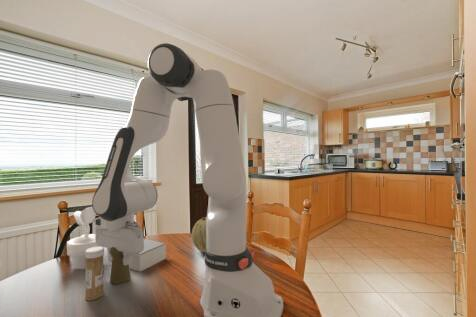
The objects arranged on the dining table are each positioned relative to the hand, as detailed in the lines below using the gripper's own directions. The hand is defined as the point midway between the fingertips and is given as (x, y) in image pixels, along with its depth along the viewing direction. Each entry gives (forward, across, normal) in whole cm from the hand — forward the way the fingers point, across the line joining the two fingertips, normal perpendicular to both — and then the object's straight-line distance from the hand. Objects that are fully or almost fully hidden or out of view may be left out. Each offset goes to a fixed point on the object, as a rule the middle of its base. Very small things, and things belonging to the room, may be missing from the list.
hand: (119, 262), depth 73 cm
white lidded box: (+5, +6, -12) cm, 15 cm away
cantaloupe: (+6, -12, -33) cm, 35 cm away
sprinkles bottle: (+6, -2, +9) cm, 11 cm away
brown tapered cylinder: (+5, 0, 0) cm, 5 cm away
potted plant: (+5, +20, 0) cm, 21 cm away
